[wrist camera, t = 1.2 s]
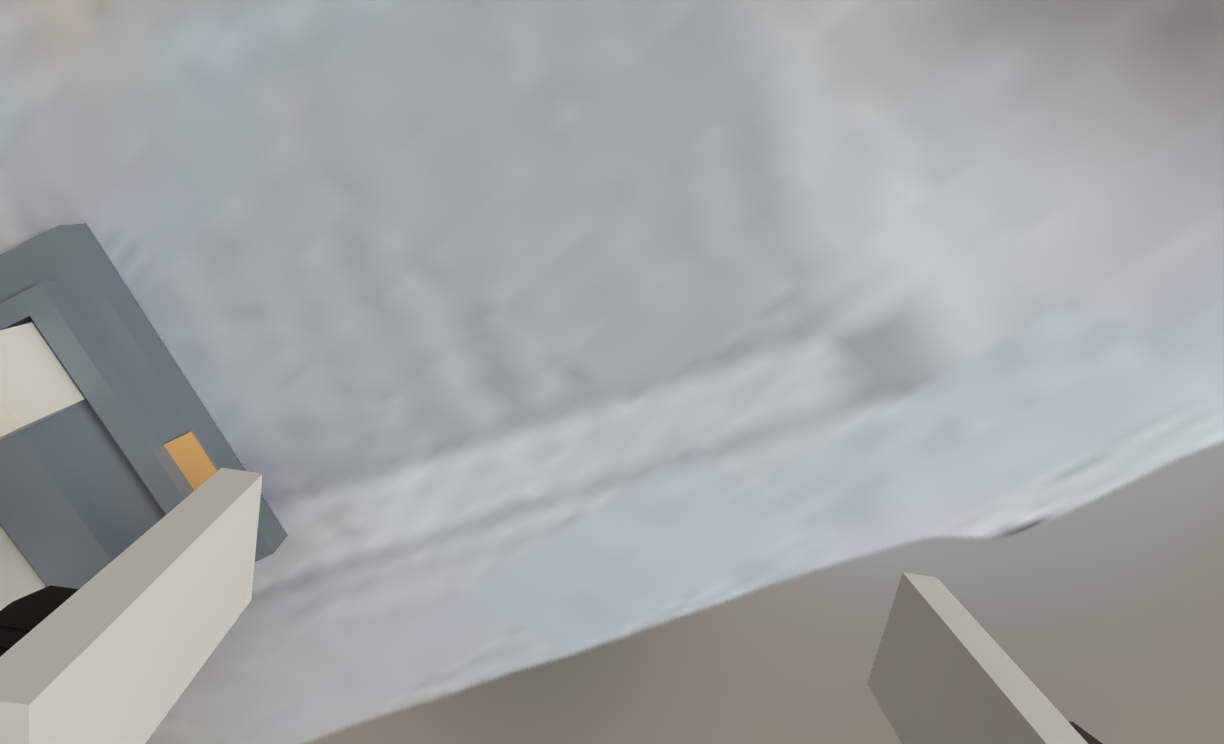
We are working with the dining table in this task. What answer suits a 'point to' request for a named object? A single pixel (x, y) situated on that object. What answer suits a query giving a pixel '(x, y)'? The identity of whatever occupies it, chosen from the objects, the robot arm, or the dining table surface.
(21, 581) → the tab
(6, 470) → the switch board
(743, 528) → the dining table surface
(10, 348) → the tab
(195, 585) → the robot arm
